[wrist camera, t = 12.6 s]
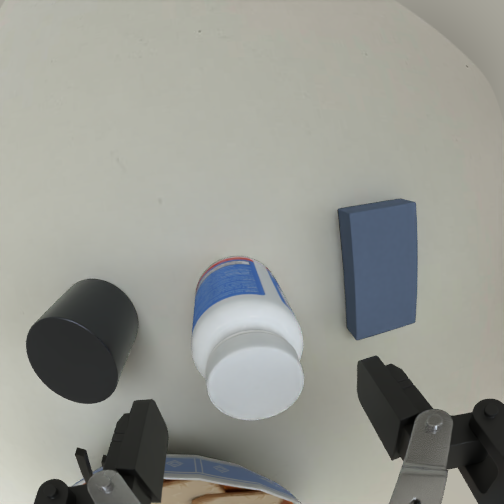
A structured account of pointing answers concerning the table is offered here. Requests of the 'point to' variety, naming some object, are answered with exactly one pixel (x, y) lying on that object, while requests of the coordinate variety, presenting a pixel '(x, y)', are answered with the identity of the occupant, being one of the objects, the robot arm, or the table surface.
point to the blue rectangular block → (379, 266)
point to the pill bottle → (246, 340)
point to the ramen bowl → (206, 482)
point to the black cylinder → (84, 341)
